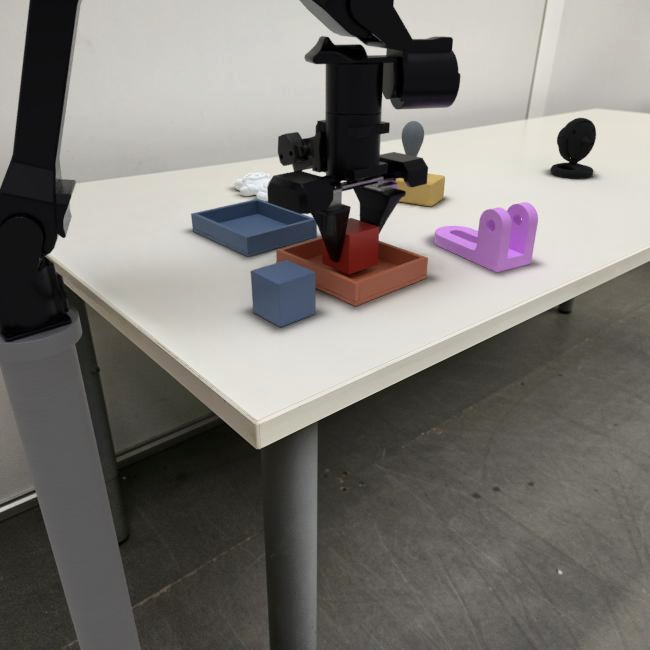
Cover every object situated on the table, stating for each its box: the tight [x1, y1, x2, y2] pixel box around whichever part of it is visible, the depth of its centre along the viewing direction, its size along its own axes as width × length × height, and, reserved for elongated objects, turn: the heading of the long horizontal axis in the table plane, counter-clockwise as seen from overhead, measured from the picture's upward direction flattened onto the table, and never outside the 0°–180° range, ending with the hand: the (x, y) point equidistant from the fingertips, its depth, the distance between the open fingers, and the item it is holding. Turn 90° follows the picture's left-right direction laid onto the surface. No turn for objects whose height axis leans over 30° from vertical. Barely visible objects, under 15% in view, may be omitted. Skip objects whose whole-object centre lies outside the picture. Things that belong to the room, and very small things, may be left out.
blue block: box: [250, 260, 317, 328], centre depth 60 cm, size 4×4×4 cm
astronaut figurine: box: [234, 171, 273, 202], centre depth 101 cm, size 9×12×3 cm
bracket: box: [433, 201, 539, 273], centre depth 75 cm, size 13×6×7 cm, turn 30°
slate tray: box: [190, 198, 318, 257], centre depth 82 cm, size 11×13×2 cm
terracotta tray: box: [275, 236, 429, 307], centre depth 69 cm, size 11×13×2 cm
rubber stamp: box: [396, 120, 446, 207], centre depth 96 cm, size 10×6×12 cm, turn 60°
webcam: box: [550, 117, 597, 179], centre depth 111 cm, size 8×8×10 cm
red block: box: [322, 217, 380, 274], centre depth 68 cm, size 4×4×4 cm
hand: (350, 256), depth 69 cm, fingers closed on red block, 4 cm apart
